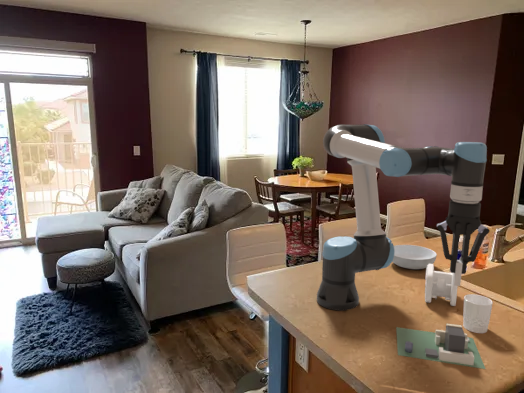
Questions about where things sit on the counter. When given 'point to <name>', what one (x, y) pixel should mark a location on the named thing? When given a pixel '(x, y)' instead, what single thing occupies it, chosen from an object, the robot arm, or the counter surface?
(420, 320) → the counter surface
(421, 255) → the serving bowl
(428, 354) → the board
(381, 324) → the counter surface
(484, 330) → the white cup
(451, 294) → the cable organizer
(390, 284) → the counter surface
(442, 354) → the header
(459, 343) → the plug
